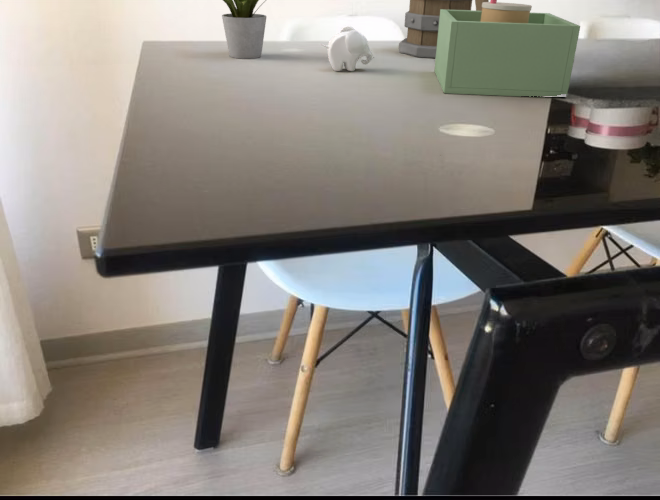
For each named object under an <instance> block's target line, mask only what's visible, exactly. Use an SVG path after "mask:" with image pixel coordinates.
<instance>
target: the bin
mask: <svg viewBox="0 0 660 500" xmlns="http://www.w3.org/2000/svg"><path fill="white" fill-rule="evenodd" d="M481 14H482V11H476V10H473V9H471V10H445V9H440V18H439V29H438V39H437V49H436V58H434V59H435V60H434V61H435V62H434V74H435V76H436V78H437V81H438V82H439V83H438V84H439V86H440V88H441V90H442V92H443V94H451V95H453V94H454V95H473V96H474V95H477V96H479V95H480V96H496V97H497V96H499V97H500V96H501V97H502V96H503V97H521V96H529V97H528V98H535V97H534V96H537V97H536V98H542V97H541V96H557V95H561V94H567V95H568V92H569V88H570V82H571V77H572V72H573V67H574V61H575V57H576V51H577V46H578V40H579V36H580V31H581V25H580V24H577V23H575V22H571V21H569V20H567V19H564V18H562V17H561V16H557V15H555V14H552V13H550V12H530V15H529V21H528V23H503V22H480V21H481ZM531 96H533V97H531ZM538 96H540V97H538Z"/></svg>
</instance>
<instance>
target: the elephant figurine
mask: <svg viewBox="0 0 660 500" xmlns="http://www.w3.org/2000/svg"><path fill="white" fill-rule="evenodd" d="M320 45H321V46H323V47H325V48H326V49H327V51H326V53H327V58H328V61H329V65H330V67H331V68H332V70H333V71H334V72H342V70H343V68H345V69H346V70H347V71H348V72H354V71H355V70H356V66H357V63H358V60H359V59H360V58H361V57H365V58H366V59H361V60H360V62H361V63H362V65H368V64H369V63H370V62H371V61H372V58H375V57H374V56H373V52H372V50H371V48H370V45H369V41H368V39H367V38H366V36H365V35H364V34H362V32H359V31H358V30H356V29H355V27H352V26H351V25H347V26H344V27H342V28H341V30H340V32H338V33H336V34H334V35H333V36H332V37H331V38H330V39H329V42H328V44H326V45H325V44H323V43H322V42H321V43H320ZM343 66H344V67H343Z"/></svg>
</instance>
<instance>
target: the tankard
mask: <svg viewBox="0 0 660 500" xmlns="http://www.w3.org/2000/svg"><path fill="white" fill-rule="evenodd" d="M483 2H490V1H489V0H474V3H475V11H482V3H483ZM472 5H473V0H409V7H408V8H409V9H408V11H406V12H405V15H404V28H407V32H406V33H407V35H406V37H405V38H403V39H402V40H401V41H400V42H399V43H398V52H399V53H400V54H404V55H408V56H411V57H416V58H426V59H436V49H437V39H438V29H439V18H440V9H445V10H472V7H473V6H472Z"/></svg>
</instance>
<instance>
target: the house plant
mask: <svg viewBox="0 0 660 500" xmlns="http://www.w3.org/2000/svg"><path fill="white" fill-rule="evenodd" d="M222 1H223V2H224V3H225V4H226V6H227V8H228V9H229V11H230V13H224V14H221V19H222V24H223V29H224V34H225V39H226V45H227V49H228V50H227V51H228V54H229V55H228V56H229V57H230V58H234V59H257V58H261V57H262V53H263V46H264V39H265V31H266V24H267V15H265V14H262V13H261V14H260V13H257V11H258V9H260V7H257V8H256V6H257V4H258V2H259V1H260V0H222ZM266 1H267V0H264V1H263V2H262V3H261V4H260V6H262V5H263V4H264V3H266ZM255 8H256V10H255ZM254 10H255V11H254Z"/></svg>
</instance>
